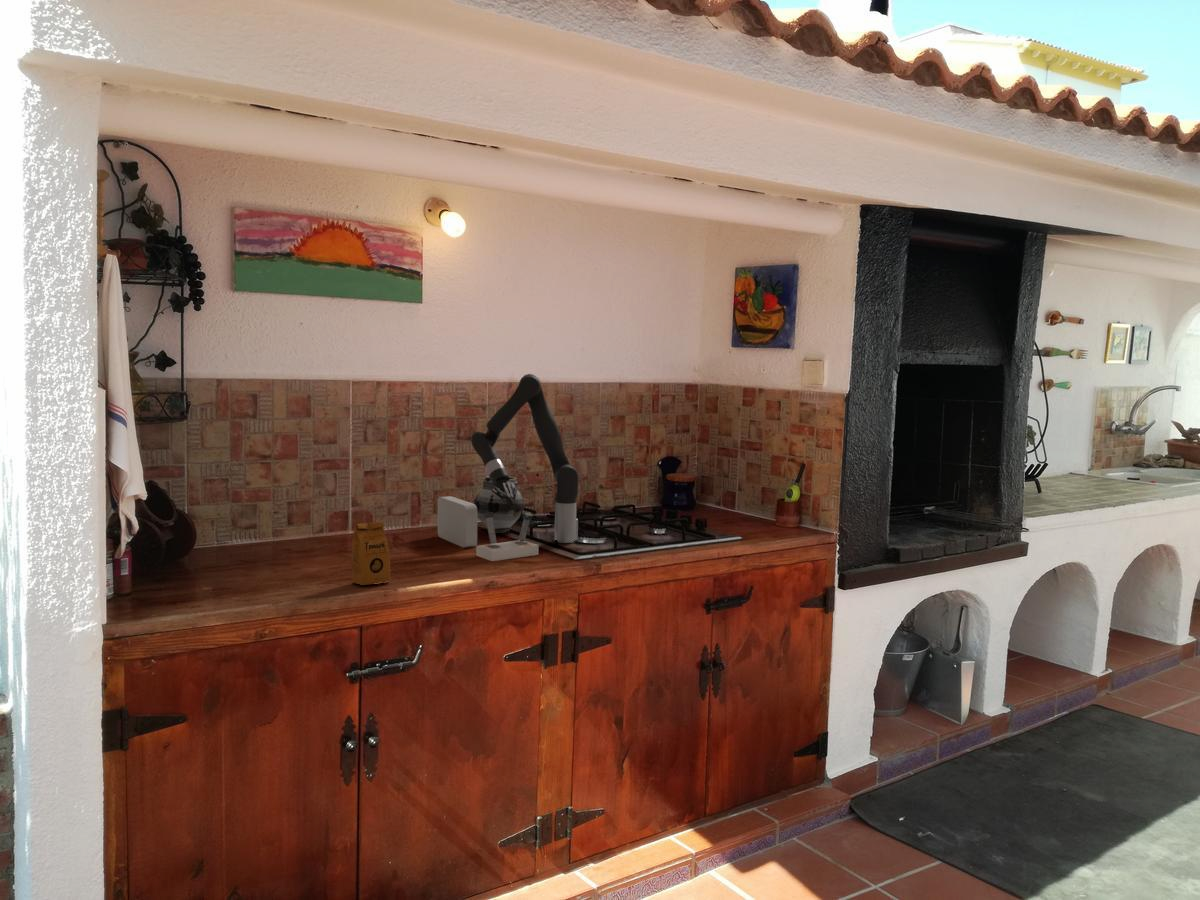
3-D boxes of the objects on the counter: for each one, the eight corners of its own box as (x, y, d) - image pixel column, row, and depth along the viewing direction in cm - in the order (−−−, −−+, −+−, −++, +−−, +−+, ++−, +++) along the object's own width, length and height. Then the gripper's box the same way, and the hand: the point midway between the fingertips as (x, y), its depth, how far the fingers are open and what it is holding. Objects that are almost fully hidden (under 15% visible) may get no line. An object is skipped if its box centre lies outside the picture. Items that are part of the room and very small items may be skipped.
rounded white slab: (482, 546, 405) (482, 504, 403) (465, 548, 400) (465, 505, 398) (453, 535, 428) (453, 494, 426) (437, 536, 424) (437, 496, 422)
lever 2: (522, 538, 395) (529, 512, 390) (526, 541, 393) (533, 515, 388) (516, 538, 393) (523, 512, 388) (519, 542, 391) (526, 516, 386)
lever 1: (495, 543, 387) (489, 513, 389) (498, 542, 385) (493, 511, 387) (488, 544, 385) (483, 513, 387) (492, 543, 383) (486, 512, 385)
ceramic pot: (461, 527, 445) (462, 474, 442) (505, 523, 458) (505, 471, 455) (491, 538, 421) (492, 482, 419) (536, 533, 434) (537, 479, 432)
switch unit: (522, 549, 401) (522, 538, 401) (538, 554, 392) (538, 543, 391) (476, 555, 388) (476, 544, 387) (492, 561, 378) (492, 550, 378)
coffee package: (393, 584, 339) (393, 523, 336) (358, 589, 332) (358, 526, 330) (383, 578, 347) (382, 518, 345) (349, 582, 340) (348, 521, 338)
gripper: (489, 467, 398) (505, 501, 391) (513, 466, 408) (530, 500, 400) (480, 478, 403) (496, 512, 395) (504, 477, 412) (520, 510, 405)
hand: (513, 506), depth 398 cm, fingers closed
